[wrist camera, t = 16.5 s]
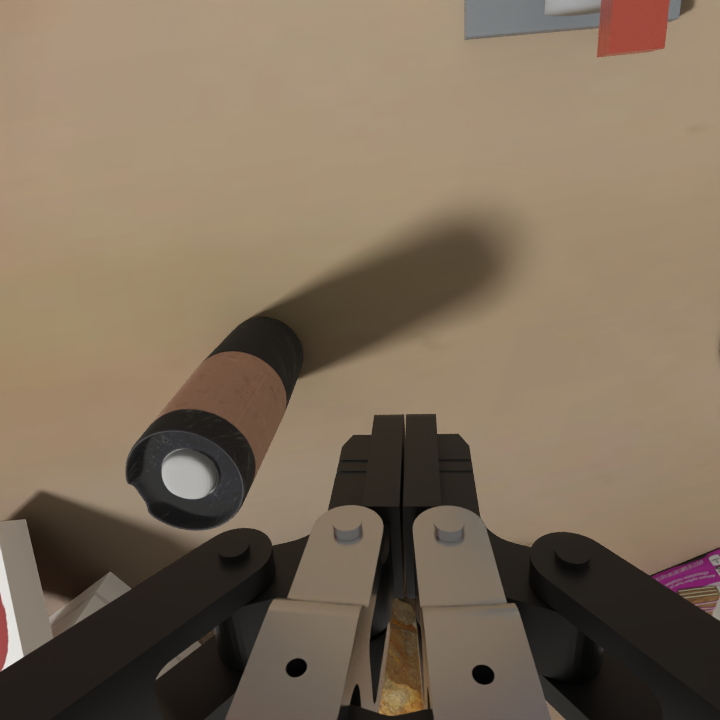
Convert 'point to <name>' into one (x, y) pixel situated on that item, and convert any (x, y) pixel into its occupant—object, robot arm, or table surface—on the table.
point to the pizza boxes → (27, 605)
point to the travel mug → (217, 428)
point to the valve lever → (632, 26)
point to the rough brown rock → (402, 664)
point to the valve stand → (535, 16)
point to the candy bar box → (696, 582)
